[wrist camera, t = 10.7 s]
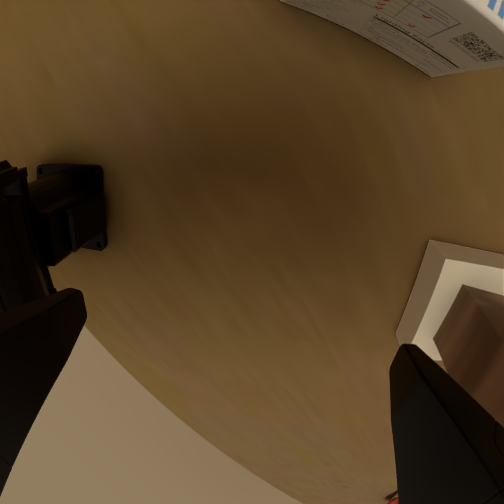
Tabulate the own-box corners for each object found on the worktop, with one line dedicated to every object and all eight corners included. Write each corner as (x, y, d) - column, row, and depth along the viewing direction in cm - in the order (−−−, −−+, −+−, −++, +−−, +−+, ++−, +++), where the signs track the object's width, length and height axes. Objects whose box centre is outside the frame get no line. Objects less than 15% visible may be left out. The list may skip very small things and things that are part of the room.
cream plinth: (395, 333, 23) (403, 358, 20) (429, 239, 19) (445, 258, 17) (472, 338, 22) (484, 360, 19) (508, 255, 19) (528, 273, 16)
